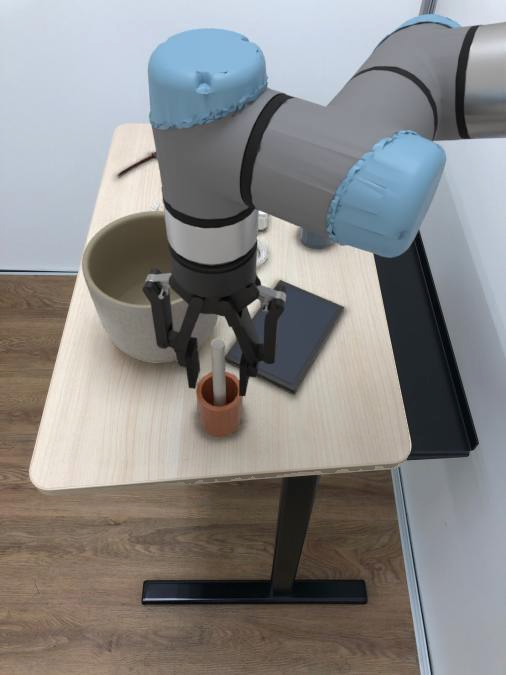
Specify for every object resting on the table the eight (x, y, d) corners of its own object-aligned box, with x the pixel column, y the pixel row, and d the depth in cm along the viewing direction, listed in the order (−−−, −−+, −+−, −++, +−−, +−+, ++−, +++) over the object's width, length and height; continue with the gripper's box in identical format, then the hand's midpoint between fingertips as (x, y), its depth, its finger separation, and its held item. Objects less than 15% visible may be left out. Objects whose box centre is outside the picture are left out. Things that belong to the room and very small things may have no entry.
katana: (165, 147, 106) (165, 144, 105) (171, 150, 105) (171, 147, 105) (114, 175, 100) (113, 171, 99) (120, 178, 99) (119, 175, 99)
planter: (225, 375, 75) (223, 304, 62) (101, 382, 73) (74, 312, 61) (219, 284, 85) (216, 207, 72) (109, 289, 83) (88, 212, 71)
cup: (249, 410, 71) (251, 382, 66) (228, 444, 69) (227, 418, 63) (213, 392, 73) (211, 363, 67) (191, 424, 70) (187, 397, 64)
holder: (337, 233, 92) (344, 200, 87) (324, 253, 89) (330, 221, 84) (308, 222, 94) (312, 189, 88) (293, 241, 91) (297, 208, 85)
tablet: (343, 310, 82) (344, 306, 81) (294, 394, 73) (294, 390, 72) (279, 283, 85) (280, 279, 84) (224, 360, 76) (224, 356, 75)
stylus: (228, 413, 70) (227, 341, 58) (222, 422, 70) (219, 351, 57) (218, 408, 71) (215, 336, 58) (212, 417, 70) (207, 345, 57)
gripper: (325, 220, 47) (299, 367, 65) (120, 194, 48) (152, 346, 67) (318, 284, 42) (292, 422, 61) (92, 253, 43) (134, 398, 62)
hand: (219, 382), depth 64 cm, fingers open, 5 cm apart
